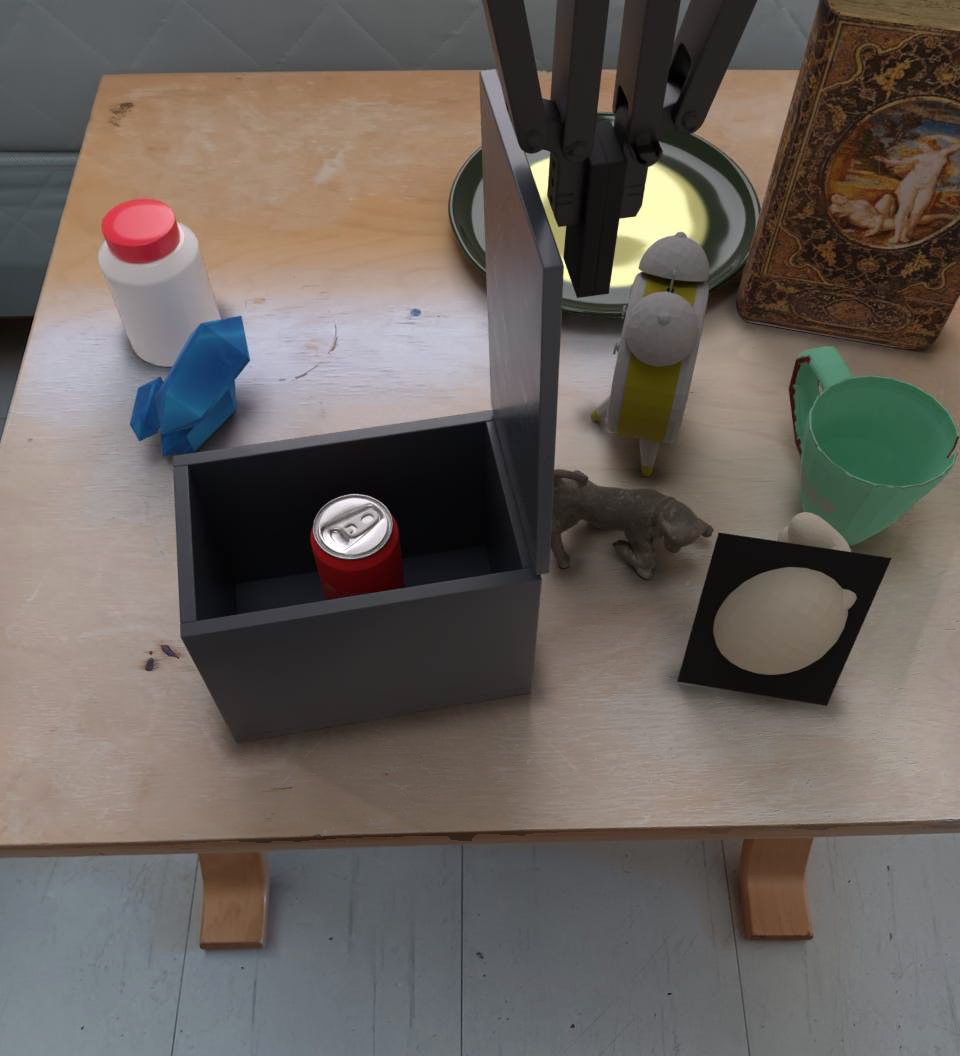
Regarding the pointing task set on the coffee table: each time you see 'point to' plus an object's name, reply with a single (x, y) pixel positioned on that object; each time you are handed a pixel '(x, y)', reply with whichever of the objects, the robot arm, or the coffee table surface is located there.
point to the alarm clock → (658, 346)
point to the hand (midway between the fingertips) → (585, 275)
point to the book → (865, 180)
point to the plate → (638, 216)
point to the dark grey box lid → (521, 318)
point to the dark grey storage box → (364, 620)
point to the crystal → (194, 389)
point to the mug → (865, 444)
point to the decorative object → (781, 612)
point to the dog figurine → (622, 518)
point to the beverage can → (356, 547)
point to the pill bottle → (155, 278)
